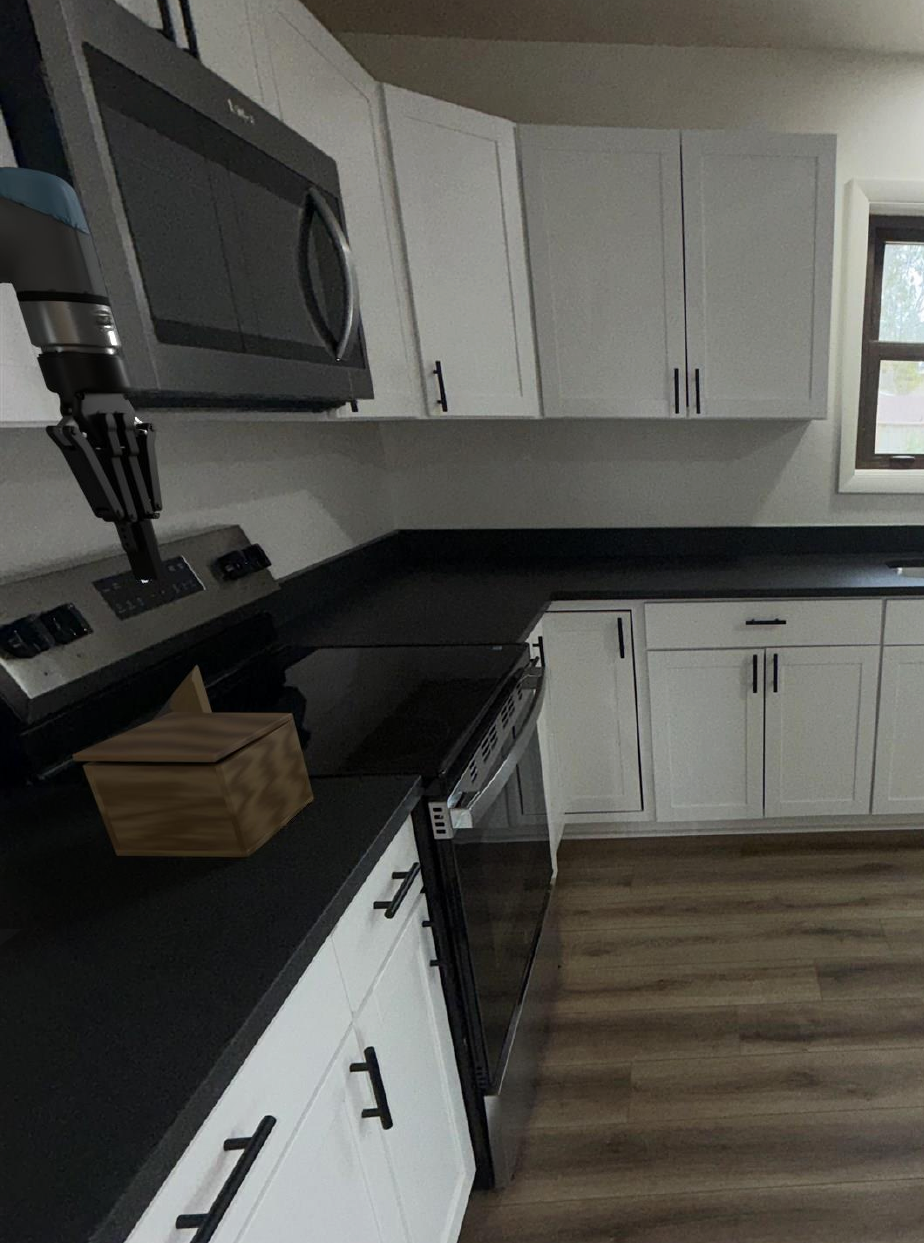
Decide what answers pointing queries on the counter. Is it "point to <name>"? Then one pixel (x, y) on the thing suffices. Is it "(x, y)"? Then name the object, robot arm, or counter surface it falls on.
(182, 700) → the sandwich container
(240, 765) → the chest
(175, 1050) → the counter surface
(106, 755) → the lid
